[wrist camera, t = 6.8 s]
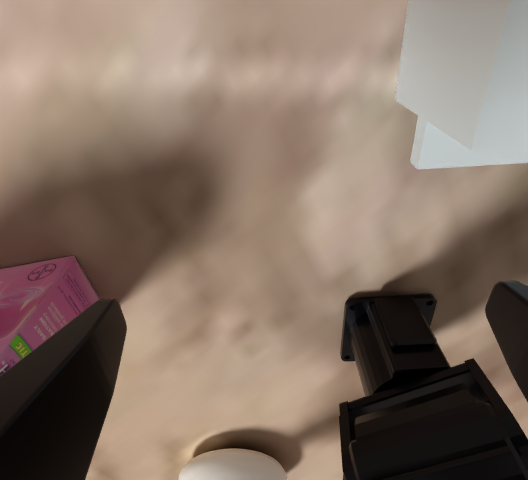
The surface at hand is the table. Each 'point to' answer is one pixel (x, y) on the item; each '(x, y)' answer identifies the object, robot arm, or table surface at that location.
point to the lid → (466, 81)
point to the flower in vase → (233, 466)
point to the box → (39, 304)
